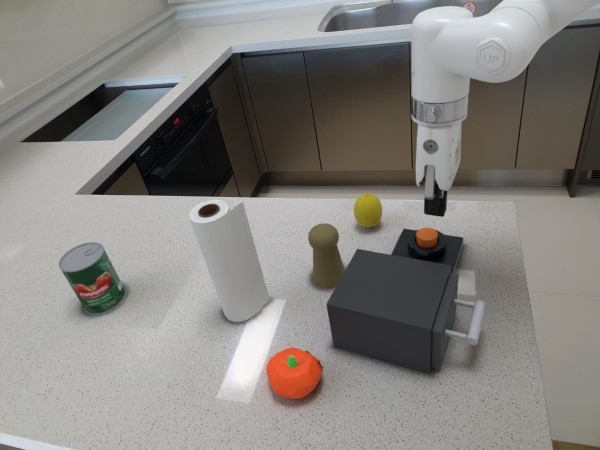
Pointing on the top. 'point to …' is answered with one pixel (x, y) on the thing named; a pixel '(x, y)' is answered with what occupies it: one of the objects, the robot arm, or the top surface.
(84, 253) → the canned tomato
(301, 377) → the pumpkin
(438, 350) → the basket drawer
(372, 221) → the lemon
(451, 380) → the top surface
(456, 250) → the control block
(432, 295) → the dark grey drawer cabinet
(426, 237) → the button
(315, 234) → the pepper mill
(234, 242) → the paper towel roll
